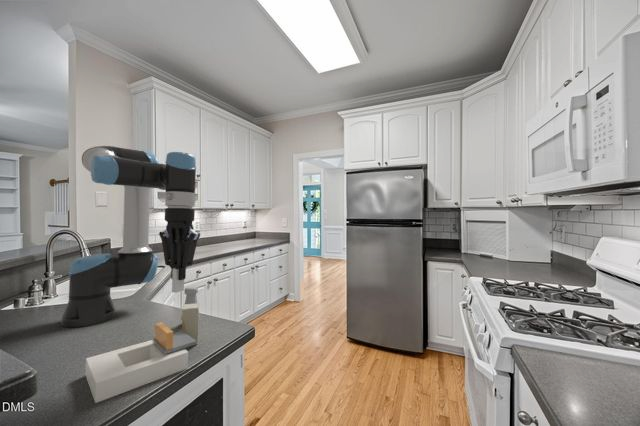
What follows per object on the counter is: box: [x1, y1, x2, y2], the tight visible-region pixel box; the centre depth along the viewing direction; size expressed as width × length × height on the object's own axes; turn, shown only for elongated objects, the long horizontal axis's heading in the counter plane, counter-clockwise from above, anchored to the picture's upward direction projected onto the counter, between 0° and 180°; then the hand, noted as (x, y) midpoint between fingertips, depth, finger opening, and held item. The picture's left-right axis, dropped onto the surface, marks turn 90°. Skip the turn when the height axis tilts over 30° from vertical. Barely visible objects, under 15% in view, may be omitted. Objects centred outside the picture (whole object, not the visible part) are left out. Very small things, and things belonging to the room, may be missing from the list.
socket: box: [85, 339, 189, 404], centre depth 66 cm, size 14×18×4 cm
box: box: [181, 302, 200, 347], centre depth 82 cm, size 5×4×11 cm
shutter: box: [152, 321, 196, 354], centre depth 72 cm, size 9×8×5 cm
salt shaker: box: [180, 285, 200, 320], centre depth 97 cm, size 6×6×13 cm
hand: (177, 291), depth 77 cm, fingers closed
